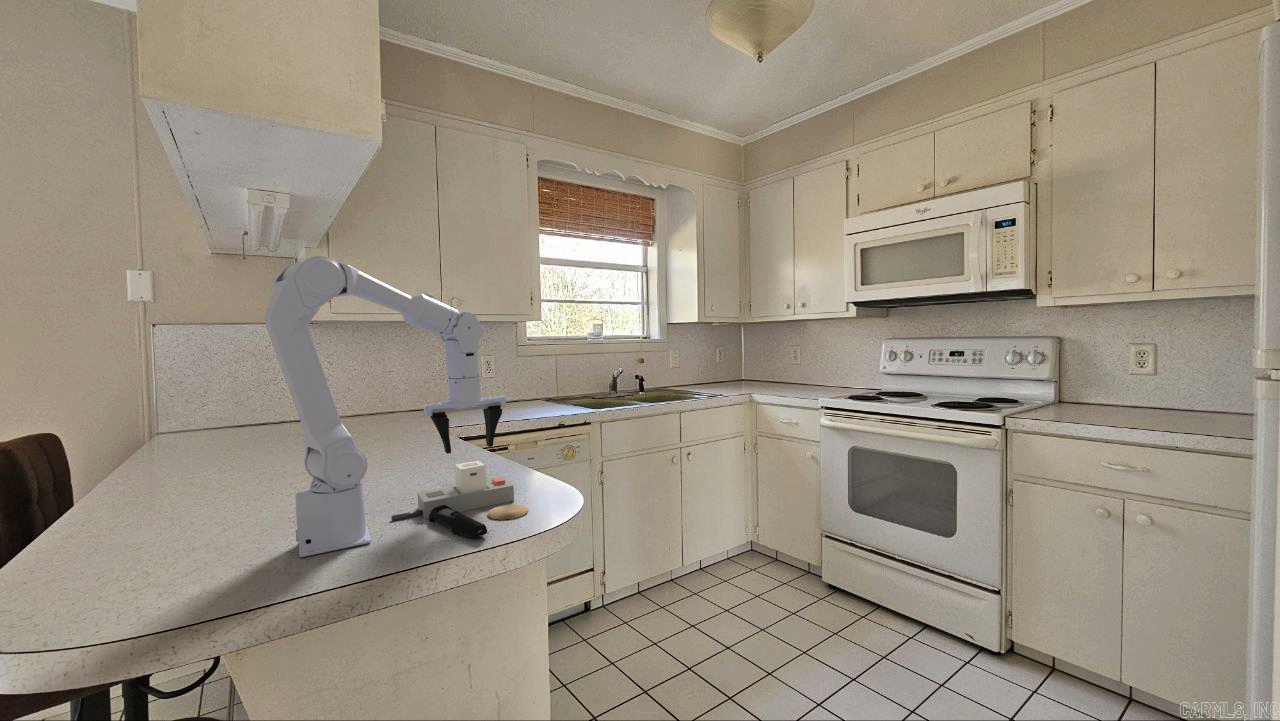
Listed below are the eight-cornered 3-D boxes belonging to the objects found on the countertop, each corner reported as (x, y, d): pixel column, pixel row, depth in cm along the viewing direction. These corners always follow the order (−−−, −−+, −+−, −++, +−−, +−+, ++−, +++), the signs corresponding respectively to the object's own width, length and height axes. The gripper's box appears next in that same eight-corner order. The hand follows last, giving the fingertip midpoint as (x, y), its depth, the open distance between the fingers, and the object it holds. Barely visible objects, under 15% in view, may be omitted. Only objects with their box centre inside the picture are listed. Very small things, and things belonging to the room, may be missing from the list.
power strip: (393, 525, 92) (392, 503, 92) (388, 513, 98) (387, 493, 98) (514, 501, 103) (513, 481, 103) (503, 492, 109) (502, 473, 109)
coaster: (494, 522, 92) (494, 520, 92) (483, 511, 98) (483, 509, 98) (534, 514, 95) (533, 512, 95) (521, 503, 101) (520, 501, 101)
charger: (462, 499, 99) (460, 468, 99) (456, 492, 103) (455, 464, 103) (486, 494, 102) (485, 464, 101) (480, 488, 105) (479, 460, 105)
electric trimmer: (471, 547, 83) (470, 527, 82) (426, 523, 93) (425, 505, 93) (493, 540, 85) (492, 520, 85) (447, 517, 96) (446, 499, 96)
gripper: (496, 372, 108) (501, 439, 109) (419, 379, 101) (424, 451, 102) (507, 374, 102) (512, 445, 103) (425, 382, 95) (431, 458, 96)
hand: (469, 449), depth 102 cm, fingers open, 7 cm apart
